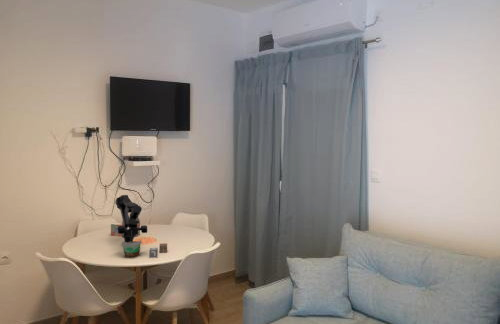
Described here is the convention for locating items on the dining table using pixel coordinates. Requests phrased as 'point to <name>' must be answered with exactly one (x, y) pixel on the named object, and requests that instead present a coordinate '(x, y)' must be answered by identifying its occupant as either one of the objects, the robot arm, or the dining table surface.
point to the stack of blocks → (115, 229)
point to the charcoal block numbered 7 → (153, 252)
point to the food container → (131, 248)
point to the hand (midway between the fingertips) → (131, 240)
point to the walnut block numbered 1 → (163, 248)
